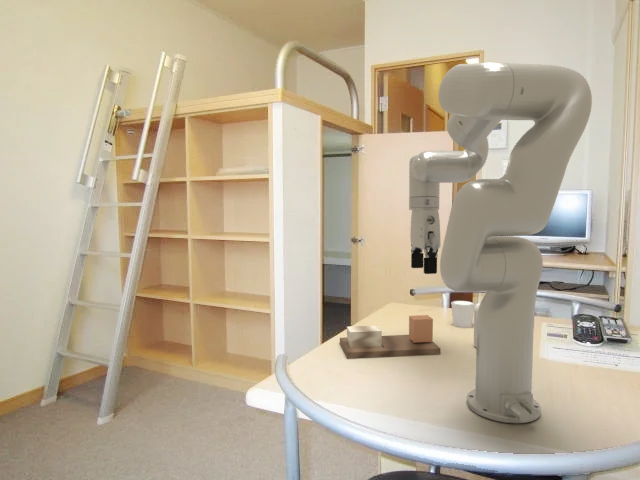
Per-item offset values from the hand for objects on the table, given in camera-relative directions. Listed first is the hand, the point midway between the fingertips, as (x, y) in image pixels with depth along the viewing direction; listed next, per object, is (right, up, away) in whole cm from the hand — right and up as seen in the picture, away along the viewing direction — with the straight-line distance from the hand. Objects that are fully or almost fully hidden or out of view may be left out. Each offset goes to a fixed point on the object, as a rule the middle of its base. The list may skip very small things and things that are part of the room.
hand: (423, 270), depth 114 cm
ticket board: (-9, -20, +1) cm, 22 cm away
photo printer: (+18, -21, -1) cm, 27 cm away
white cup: (+17, -18, +22) cm, 33 cm away
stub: (0, -18, +2) cm, 18 cm away
